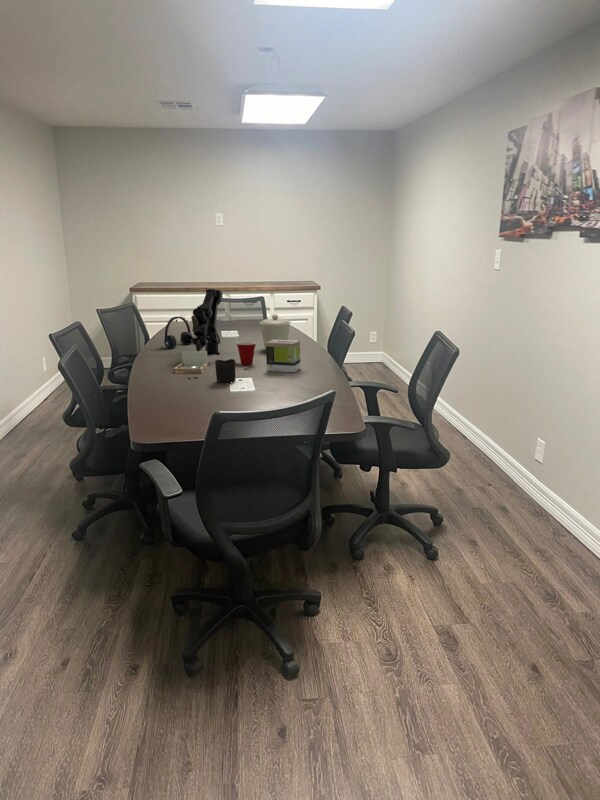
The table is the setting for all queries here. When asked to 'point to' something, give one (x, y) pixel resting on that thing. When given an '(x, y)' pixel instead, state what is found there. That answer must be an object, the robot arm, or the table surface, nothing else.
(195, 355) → the drawer
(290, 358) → the tea box
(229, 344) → the table surface
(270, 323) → the canister
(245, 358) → the plastic cup
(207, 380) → the table surface
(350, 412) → the table surface
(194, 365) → the disc
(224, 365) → the pen holder
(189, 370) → the housing
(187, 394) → the table surface
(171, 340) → the headphones
